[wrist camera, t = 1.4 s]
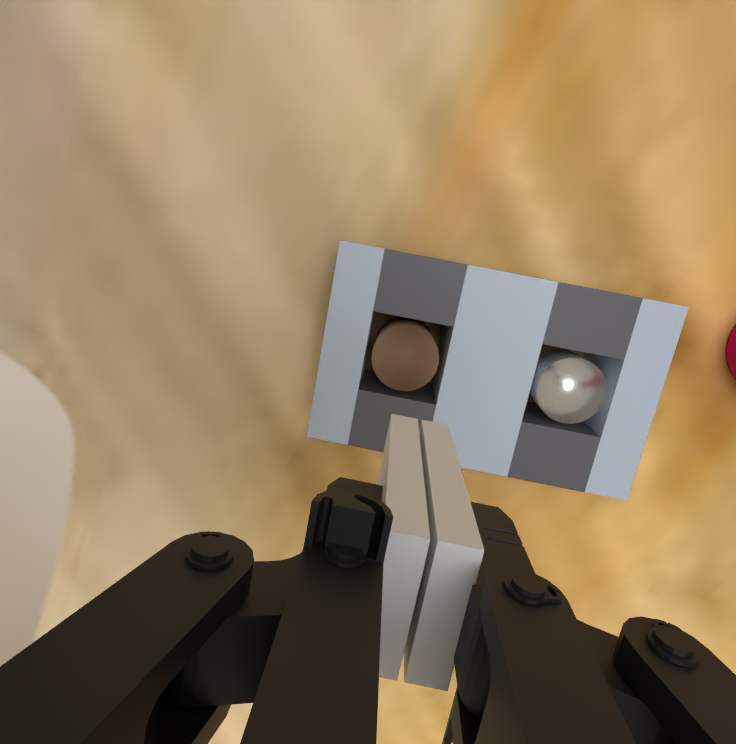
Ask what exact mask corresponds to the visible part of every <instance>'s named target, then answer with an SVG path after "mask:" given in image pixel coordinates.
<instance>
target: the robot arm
mask: <svg viewBox="0 0 736 744" xmlns="http://www.w3.org/2000/svg"><path fill="white" fill-rule="evenodd" d="M403 654H404V682H406V683H411V684H416V685H421V686H425V687H430V688H435V689H440V690H445V691H448V687H449V684H450V680H451V676H452V672H453V668H454V664H455V671H456V679H457V689H456V693H455V697H454V701H453V704H452V708H451V712H450V716H449V719H448V723H447V727H446V731H445V734H444V738H443V742H442V744H451V743H452V742H453V744H736V675H735V674H734V673H733V672H732V671H731V670H730V669H729V668H728V667H727V666H726V665H724V664H723V663H722V662H721V661H720V660H719V659H718V658H717V657H716V656H715V655H714V654H713V653H712V652H711V651H710V650H709V649H708V648H706V647H705V646H704V645H703V644H701V643H700V642H699V641H698V640H696V639H695V638H694V637H692V636H691V635H689V634H687V633H685V632H684V631H682V630H681V629H680V628H678V627H677V626H675V625H672V624H670V623H668V624H667V623H666V622H665V621H661V620H658V619H651V618H646V617H635V618H629V619H628V620H627V621H626V622H625V623H624V624H623V626H622V629H621V632H620V635H619V637H617V636H615V635H612V634H610V633H607V632H605V631H602V630H600V629H597V628H595V627H592V626H590V625H587V624H585V623H583V622H581V621H579V620H577V619H576V617H575V615H574V613H573V611H572V609H571V607H570V604H569V602H568V600H567V599H566V598H565V596H564V595H563V593H562V592H561V591H560V590H559V589H558V588H557V587H556V586H554V585H553V584H552V583H551V582H549V581H548V580H546V579H544V578H542V577H540V576H538V575H537V574H535V572H534V570H533V567H532V565H531V563H530V560H529V558H528V556H527V553H526V551H525V549H524V547H523V546H522V542H521V540H520V537H519V536H518V533H517V530H516V528H515V526H514V523H513V521H512V520H511V519H510V518H509V517H508V516H507V515H506V514H505V513H504V512H503V511H502V510H501V509H500V508H499V507H494V506H489V505H484V504H479V503H474V502H470V499H469V495H468V492H467V488H466V485H465V481H464V478H463V474H462V471H461V467H460V464H459V461H458V457H457V454H456V450H455V447H454V443H453V440H452V436H451V433H450V429H449V426H448V425H446V424H441V423H436V422H431V421H426V420H422V422H421V426H420V431H419V426H418V419H416V418H411V417H405V416H400V415H395V414H391V419H390V423H389V428H388V433H387V438H386V443H385V448H384V453H383V457H382V462H381V467H380V472H379V477H378V482H377V485H376V484H371V483H366V482H361V481H356V480H351V479H346V478H341V477H340V478H339V479H337V480H335V481H334V482H332V483H331V484H329V485H328V488H327V491H325V492H323V493H320V494H317V496H316V497H315V498H314V499H313V500H312V503H311V509H310V515H309V520H308V526H307V532H306V537H305V543H304V548H303V551H302V552H301V553H300V554H298V555H296V556H294V557H292V558H288V559H284V560H280V561H255V562H254V558H253V551H252V549H251V548H250V547H249V546H248V545H247V544H246V543H245V542H244V541H242V540H240V539H238V538H236V537H235V536H232V535H228V534H223V533H220V532H210V531H209V532H199V533H194V534H189V535H185V536H183V537H181V538H179V539H177V540H175V541H173V542H171V543H170V544H168V545H167V546H166V547H164V548H163V549H161V550H160V551H159V552H157V553H156V554H155V555H153V556H152V557H150V558H149V559H148V560H146V561H145V562H144V563H142V564H141V565H139V566H138V567H137V568H135V569H134V570H133V571H131V572H130V573H128V574H127V575H126V576H124V577H123V578H122V579H120V580H119V581H117V582H116V583H115V584H113V585H112V586H111V587H109V588H108V589H106V590H105V591H104V592H102V593H101V594H100V595H98V596H97V597H95V598H94V599H93V600H91V601H90V602H89V603H87V604H86V605H84V606H83V607H82V608H80V609H79V610H78V611H76V612H75V613H73V614H72V615H71V616H69V617H68V618H67V619H65V620H64V621H62V622H61V623H60V624H58V625H57V626H56V627H54V628H53V629H51V630H50V631H49V632H47V633H46V634H45V635H43V636H42V637H40V638H39V639H38V640H36V641H35V642H34V643H32V644H31V645H29V646H28V647H27V648H25V649H24V650H23V651H21V652H20V653H18V654H17V655H16V656H14V657H13V658H12V659H10V660H9V661H7V662H6V663H5V664H3V665H2V666H1V667H0V744H208V742H209V741H210V739H211V738H212V736H213V735H214V734H215V732H216V731H217V729H218V728H219V726H220V725H221V723H222V722H223V721H224V719H225V718H226V716H227V713H228V711H229V709H230V706H231V704H242V703H253V706H252V709H251V712H250V715H249V718H248V721H247V725H246V728H245V731H244V734H243V737H242V740H241V743H240V744H376V734H377V709H378V685H379V677H382V678H387V679H392V680H397V679H398V675H399V671H400V666H401V662H402V658H403Z"/></svg>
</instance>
